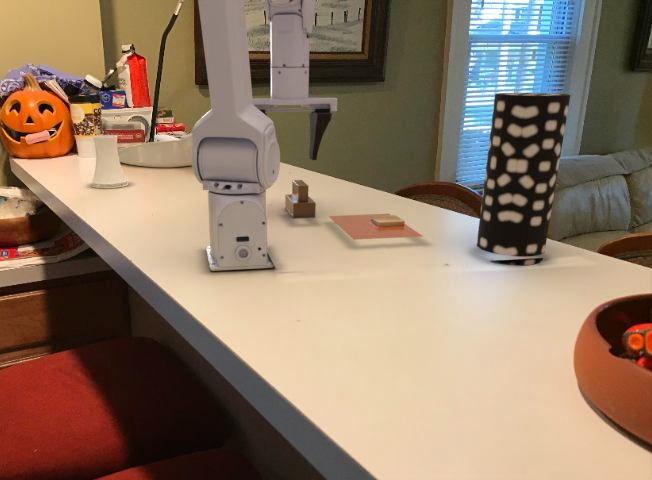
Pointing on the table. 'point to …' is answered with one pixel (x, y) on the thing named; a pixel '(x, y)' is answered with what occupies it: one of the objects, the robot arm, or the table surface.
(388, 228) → the tile
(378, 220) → the bread slice
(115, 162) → the vase
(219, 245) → the robot arm
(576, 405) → the table surface
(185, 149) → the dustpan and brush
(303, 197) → the brown stepped wooden block
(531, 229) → the white-spotted black cylinder
